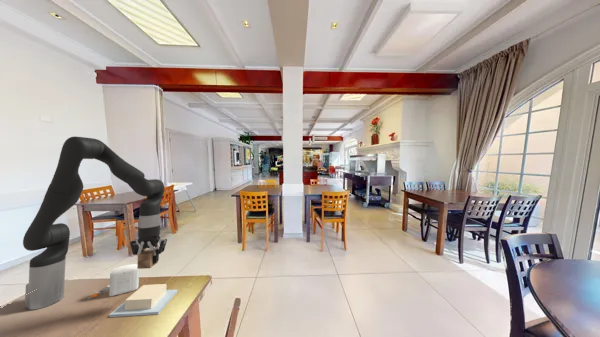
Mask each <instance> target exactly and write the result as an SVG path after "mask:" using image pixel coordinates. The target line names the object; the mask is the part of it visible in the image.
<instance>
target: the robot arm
mask: <svg viewBox="0 0 600 337" xmlns="http://www.w3.org/2000/svg"><path fill="white" fill-rule="evenodd" d="M94 159H95V160H97V161H100V162H101V163H104V164H105V165H107V167H108V168H109V170H110V172H111V174H113V175H114V177H115V178H117V179H119V180H121V181H122V182H124V183H126V184H127V185H128V186H129V187H130V188H131V190H133V192H135V193H136V194H137V195H139V196H141V197H142V196H143V197H146V199H144V200H143V201H142V202H141V203H140V205H139V213H138V214H139V215H138V216H139V217H138V222H137V223H138V224H137V237H138V239H133V240H131V241H129V244H130V247H131V248H130V250H131V253H132V255H133V256H135V255H136V256H137V257H138V254H140V253H142V252H143V251H145V250H146V249H150V250H151V251H152V253H153V255H154V256H153V264H155V263H157V261H158V262H159V260H160V259H159V258H160V256H159V255H161V254H162V253H163V252H164V251H165V249H166V245H167V241H168V239H167V238H161V237H160V234H161V203H162V200H163V197H164V195H165V194H164V193H165V184H164V182H163V181H162V180H160V179H157V178H156V179H155V178H154V179H147V178H145V173H144V172H143V171H141V170H140V169H138V168H137V167H135V166H134V165H132V164H130V163H128V162H127V161H125V159H123V158H121V156H119V155H118V154H117V153H116V152H115V151H114V150H112V149H111V148H110V147H109V146H108V145H107V144H106V143H104V142H103V141H102V140H100V139H96V138H91V137H84V136H71V137H68V138H67V139H66V140H65V141H64V143H63V144H62V147H61V151H60V154H59V158H58V162H57V165H56V169H55V171H54V174H53V175H52V176H53V177H52V180H51V181H50V184H49V185H48V186H47V190H46V193H45V194H44V196H43V200H42V202H41V204H40V207H39V208H38V211H37V213H36V215H35V216H34V219H33V220H32V221H31V223H30V225H29V227H28V228H27V230H26V231H25V233H24V236H23V239H22V245H23V248H24V249H25V250H26V251H30V252H32V251H33V252H34V251H38V250H42V249H45V250H43V251H42V252H41V253H38V254H37V255H35V256H34V257H31V259H30V260H29V263H28V264H29V265H28V266H29V268H28V269H29V270H28V283H27V284H26V285H25V294H24V295H25V296H24V308H26V309H27V310H31V311H33V310H39V309H43V308H46V307H49V306H51V305H54V304H56V303H57V302H60V300H62V299H63V298H64V297H65V281H66V278H65V277H66V257H67V256H66V255H67V254H68V251H69V244H70V235H71V231H70V228H69V226H68V225H67V224H65V223H62V222H61V223H55V221H56V220H58V218H60V217H61V216H63V214H65V213H66V212H67V211H68V210H70V209H72V207H74V205H76V204H77V202H79V200H80V197H81V195H82V193H83V191H84V183H83V180H82V178H81V175H80V174H79V168H80V166H81V163H82V161H83V160H94ZM158 243H159V244H158ZM157 264H158V263H157ZM155 265H156V264H155ZM36 289H37V290H36ZM34 290H35V291H34ZM32 291H33V292H32ZM30 292H31V293H30ZM28 293H29V294H28ZM26 294H27V295H26Z"/></svg>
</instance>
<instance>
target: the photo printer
mask: <svg viewBox="0 0 600 337" xmlns="http://www.w3.org/2000/svg"><path fill="white" fill-rule="evenodd" d="M137 265H138V263H134V264H133V263H132V264H131V263H130V264H125V265H121V266H118V267H115V268H113V269H111V272H110V276H109V285H110V288H109V290H108V296H110V297H113V296H114V297H115V296H118V295H122V294H125V293H130V292H133V291H134V292H135V291H137V290H138V289H139V286H140V285H139V284H140V282H139V280H140V269H137Z"/></svg>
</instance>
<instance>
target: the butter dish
mask: <svg viewBox="0 0 600 337" xmlns="http://www.w3.org/2000/svg"><path fill="white" fill-rule="evenodd" d="M167 286H168V285H167V283H161V284H160V283H159V284H158V283H156V284H143V285H142V286H140V287H138V289H137V290H135V291H134V292H133V293H132V294H131V295H129V296H128V297H127V298H126V299H125V300H124V302H123V303H121V304H120V305H119V306H118V307H116V308H115V309H114V310H112V312H111V313H110V314H109V316H108V318H119V317H138V316H152V315H153V316H155V315H159V314H160V313H161V312H162V311H163V310H164V308H165V307H166V306H167V305H168V303H169V302H170V301H171V300H172V299H173V298H174V296H176V295H177V293H178V291H179V289H176V288H175V289H167Z"/></svg>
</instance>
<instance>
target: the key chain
mask: <svg viewBox="0 0 600 337" xmlns="http://www.w3.org/2000/svg"><path fill="white" fill-rule="evenodd" d="M109 288H110V284H108V285H107V286H105V287H104V288H102V289H100V290H99V291H97V292H94V294H92V295H91V296H90V297H87V300H89V299H91V298H97V297H98V296H99V295H100V294H103V293H107V292H109Z"/></svg>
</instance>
